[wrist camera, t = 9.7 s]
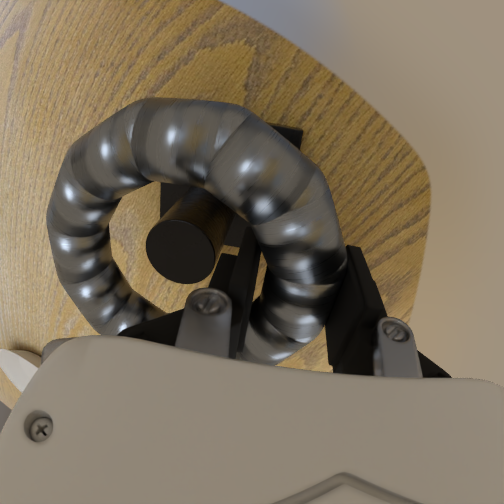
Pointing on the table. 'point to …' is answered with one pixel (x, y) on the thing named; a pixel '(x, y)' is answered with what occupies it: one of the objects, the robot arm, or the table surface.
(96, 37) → the table surface
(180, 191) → the black peg stand
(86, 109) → the table surface
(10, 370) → the white dinner plate
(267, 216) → the dark gray twisted ring
